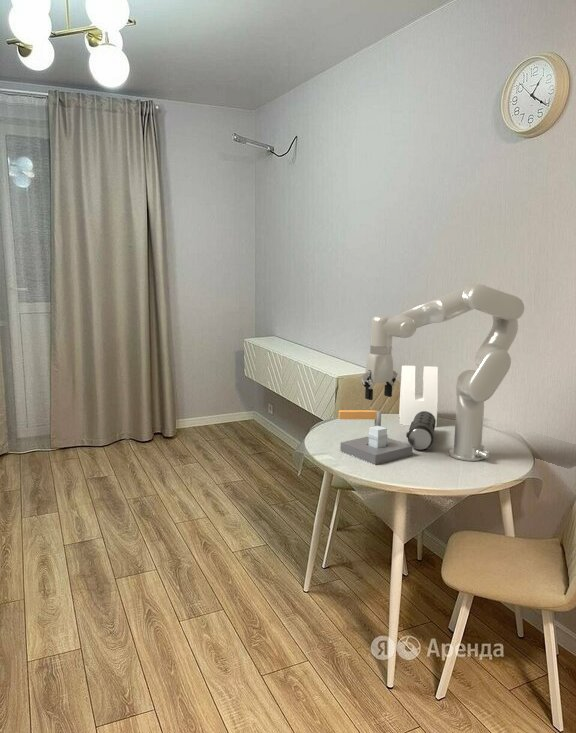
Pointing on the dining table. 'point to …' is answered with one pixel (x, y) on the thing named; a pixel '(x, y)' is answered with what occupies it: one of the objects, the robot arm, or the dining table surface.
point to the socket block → (376, 450)
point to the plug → (377, 436)
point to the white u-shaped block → (418, 394)
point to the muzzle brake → (421, 431)
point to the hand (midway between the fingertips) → (378, 397)
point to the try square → (361, 415)
